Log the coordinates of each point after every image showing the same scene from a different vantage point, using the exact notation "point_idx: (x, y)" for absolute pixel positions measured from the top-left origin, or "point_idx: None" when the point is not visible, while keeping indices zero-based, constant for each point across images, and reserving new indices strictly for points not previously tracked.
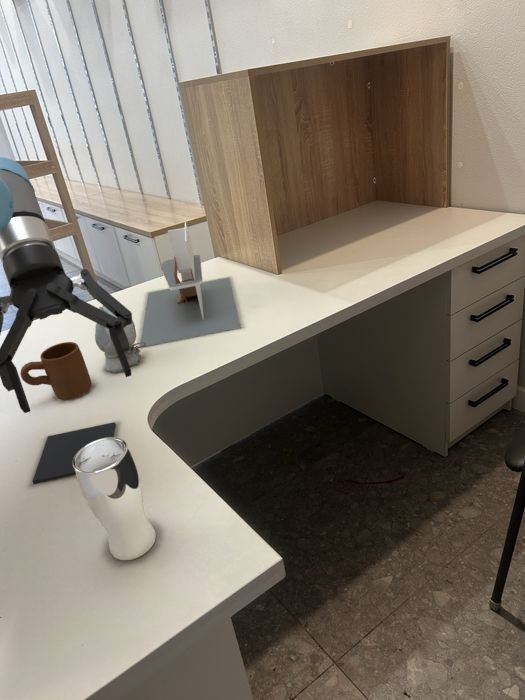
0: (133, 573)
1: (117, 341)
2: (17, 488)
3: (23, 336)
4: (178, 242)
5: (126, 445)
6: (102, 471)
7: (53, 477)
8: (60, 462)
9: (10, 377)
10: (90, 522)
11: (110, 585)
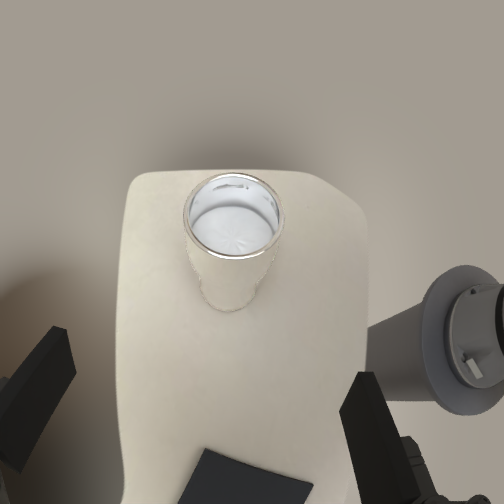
0: None
1: (7, 389)
2: (333, 486)
3: None
4: None
5: (186, 201)
6: (245, 174)
7: (285, 477)
8: (267, 501)
9: (403, 448)
10: (263, 355)
11: None
